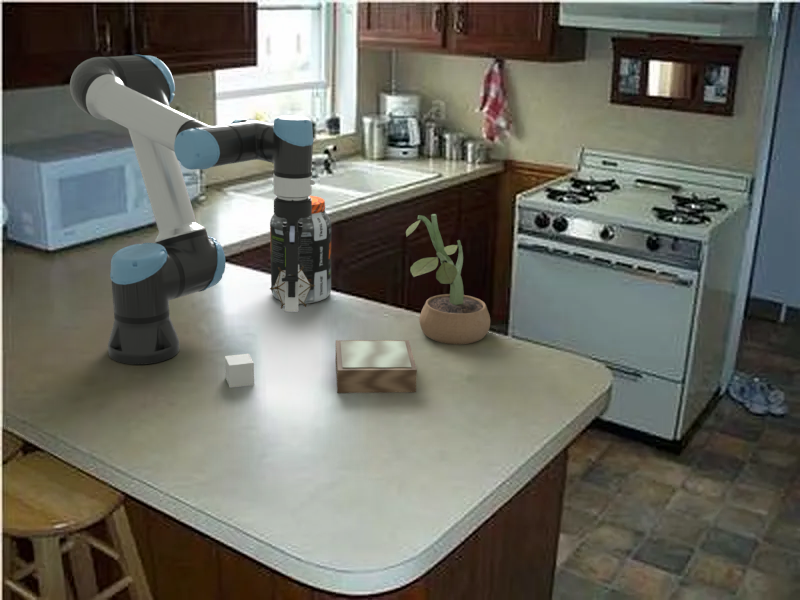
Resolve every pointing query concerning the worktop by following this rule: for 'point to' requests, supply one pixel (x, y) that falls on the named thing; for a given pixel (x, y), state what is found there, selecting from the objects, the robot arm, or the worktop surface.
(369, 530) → the worktop surface
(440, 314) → the potted plant
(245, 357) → the grey block
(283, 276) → the game die
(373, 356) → the walnut framed mirror
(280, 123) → the robot arm
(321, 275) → the supplement tub
